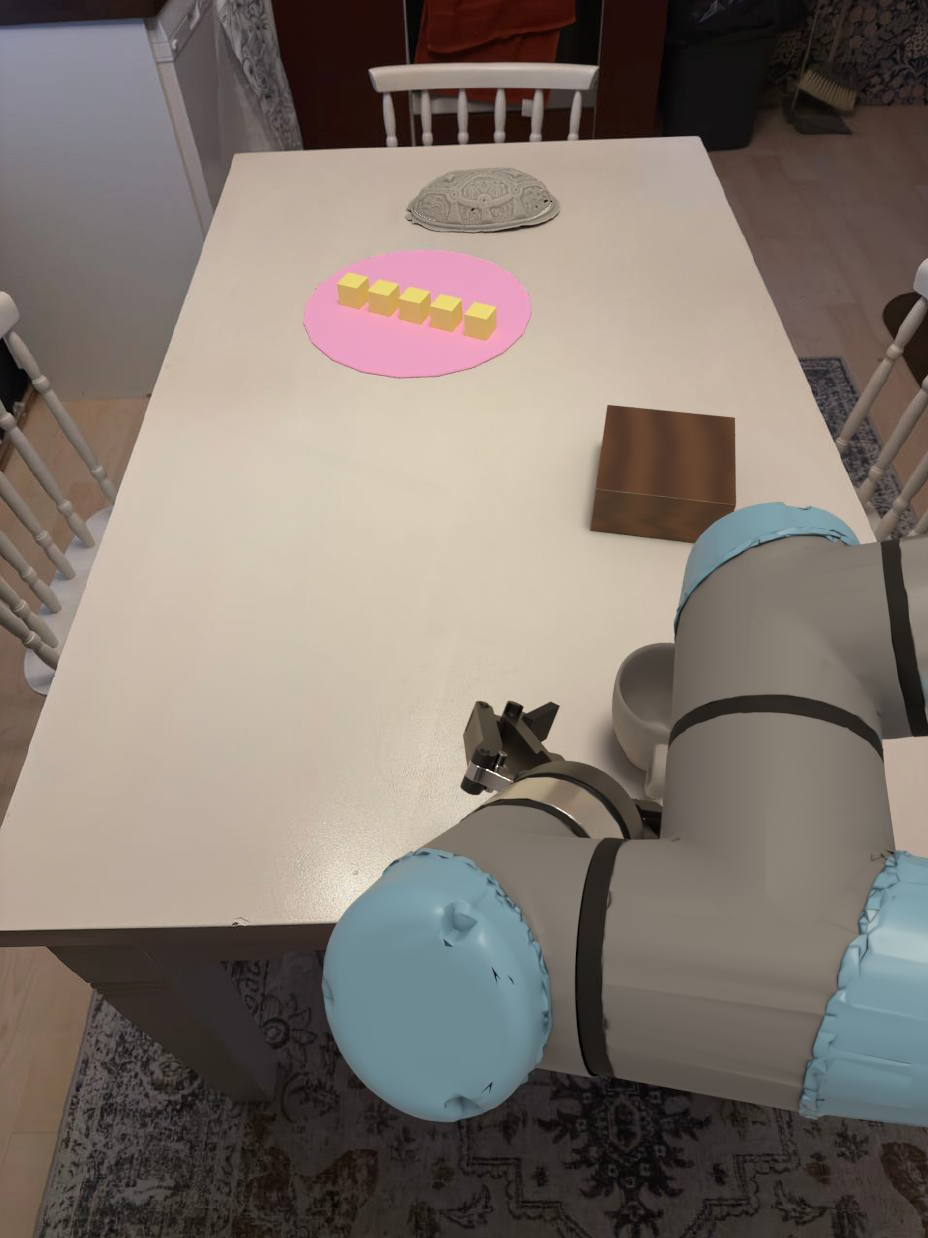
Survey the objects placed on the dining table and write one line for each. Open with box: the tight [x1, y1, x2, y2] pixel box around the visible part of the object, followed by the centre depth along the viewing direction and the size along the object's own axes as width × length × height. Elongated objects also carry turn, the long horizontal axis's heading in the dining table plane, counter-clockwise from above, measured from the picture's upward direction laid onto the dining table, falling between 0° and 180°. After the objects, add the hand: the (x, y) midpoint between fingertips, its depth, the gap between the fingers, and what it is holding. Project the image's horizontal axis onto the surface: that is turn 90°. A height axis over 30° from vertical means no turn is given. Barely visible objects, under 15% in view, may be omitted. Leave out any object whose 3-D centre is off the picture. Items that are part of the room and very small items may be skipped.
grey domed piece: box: [405, 166, 561, 233], centre depth 133 cm, size 16×25×7 cm, turn 92°
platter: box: [303, 249, 532, 379], centre depth 116 cm, size 32×32×3 cm
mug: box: [611, 642, 675, 800], centre depth 69 cm, size 12×9×10 cm
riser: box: [589, 404, 737, 544], centre depth 91 cm, size 14×14×6 cm
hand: (635, 761), depth 59 cm, fingers open, 13 cm apart
